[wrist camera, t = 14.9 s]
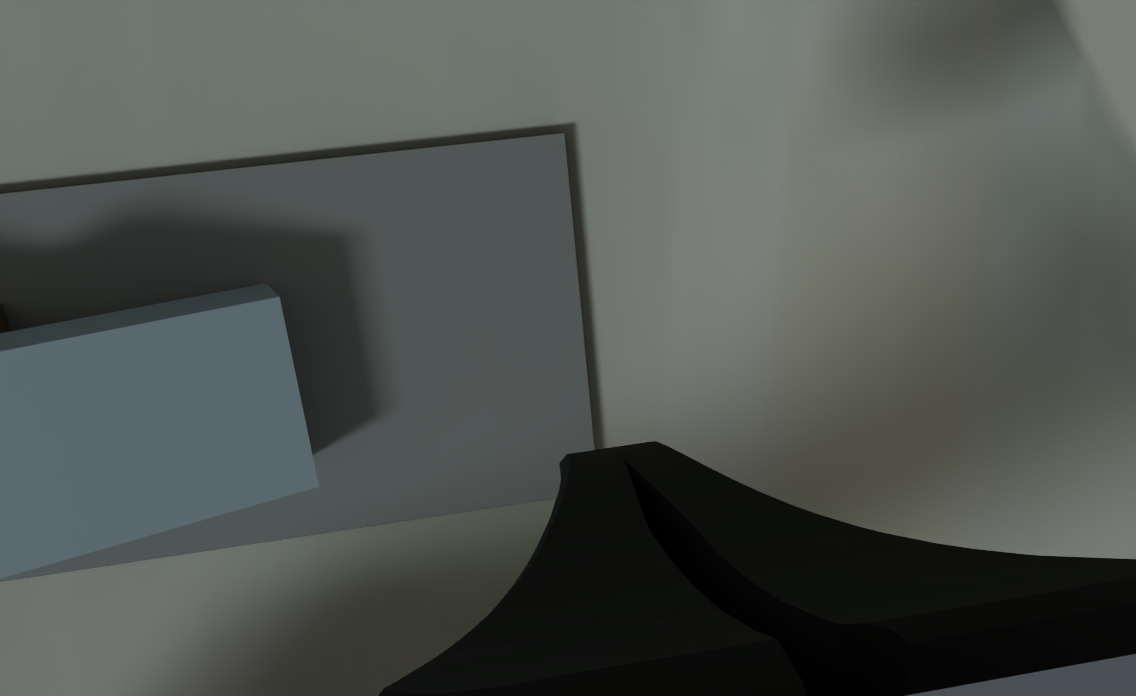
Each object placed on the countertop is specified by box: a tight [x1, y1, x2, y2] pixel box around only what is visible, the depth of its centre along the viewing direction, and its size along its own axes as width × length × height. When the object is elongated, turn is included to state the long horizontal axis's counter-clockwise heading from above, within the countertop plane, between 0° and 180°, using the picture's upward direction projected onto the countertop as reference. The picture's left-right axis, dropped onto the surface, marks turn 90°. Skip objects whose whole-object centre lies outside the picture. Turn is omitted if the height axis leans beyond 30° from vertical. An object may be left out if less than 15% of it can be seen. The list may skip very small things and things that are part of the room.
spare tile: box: [0, 283, 319, 579], centre depth 18 cm, size 2×4×7 cm
